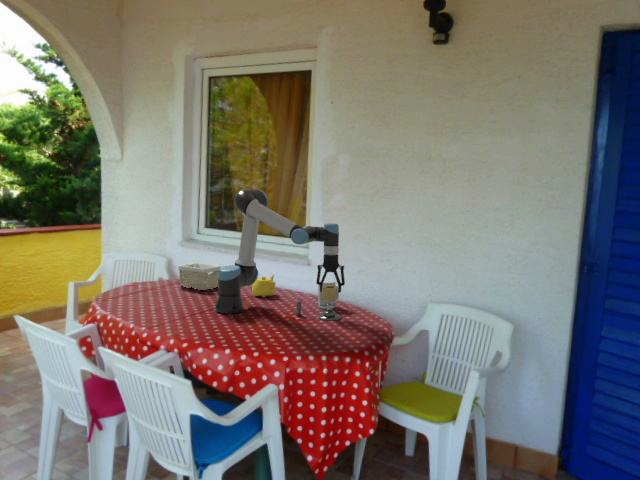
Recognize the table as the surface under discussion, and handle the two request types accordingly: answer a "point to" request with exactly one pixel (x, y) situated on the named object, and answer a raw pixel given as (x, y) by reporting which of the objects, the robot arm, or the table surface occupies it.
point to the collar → (330, 293)
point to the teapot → (264, 287)
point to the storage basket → (199, 275)
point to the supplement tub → (321, 302)
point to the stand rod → (298, 308)
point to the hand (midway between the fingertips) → (330, 298)
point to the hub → (329, 314)
